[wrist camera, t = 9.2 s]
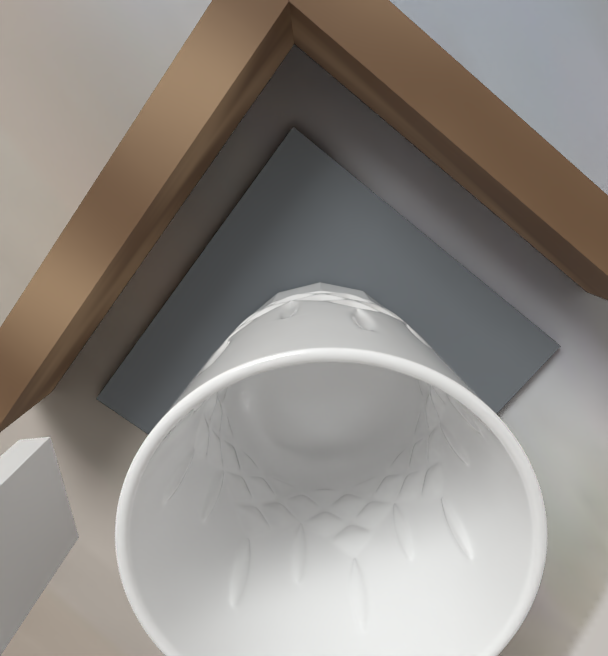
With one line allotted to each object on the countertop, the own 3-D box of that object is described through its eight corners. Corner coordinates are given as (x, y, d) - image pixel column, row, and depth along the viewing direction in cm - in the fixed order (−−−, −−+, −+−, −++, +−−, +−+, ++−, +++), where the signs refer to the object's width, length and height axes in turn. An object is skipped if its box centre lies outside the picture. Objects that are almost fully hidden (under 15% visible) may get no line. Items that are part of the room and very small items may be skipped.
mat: (293, 127, 18) (293, 126, 17) (557, 343, 19) (560, 345, 19) (99, 395, 20) (95, 398, 20) (347, 565, 22) (348, 570, 22)
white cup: (371, 501, 21) (422, 775, 11) (181, 422, 20) (57, 641, 10) (469, 321, 19) (635, 461, 9) (264, 227, 18) (208, 270, 8)
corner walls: (285, -32, 16) (277, -100, 13) (618, 258, 18) (699, 277, 15) (17, 368, 20) (-55, 412, 16) (322, 575, 22) (324, 658, 18)
